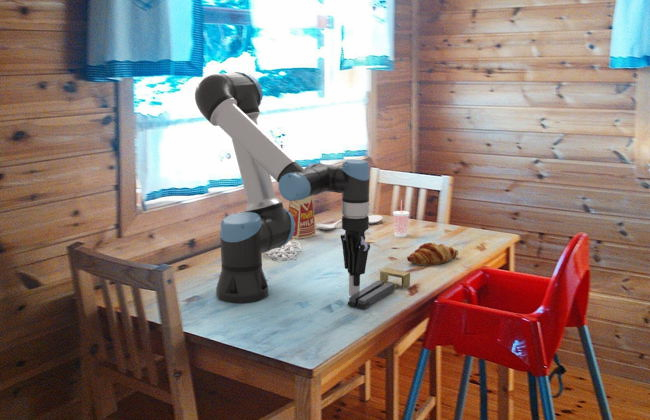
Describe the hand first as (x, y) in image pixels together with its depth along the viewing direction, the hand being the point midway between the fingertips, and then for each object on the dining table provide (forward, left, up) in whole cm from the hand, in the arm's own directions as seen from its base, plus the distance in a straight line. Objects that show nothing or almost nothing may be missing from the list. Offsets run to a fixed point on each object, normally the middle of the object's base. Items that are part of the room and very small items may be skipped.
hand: (354, 295), depth 211 cm
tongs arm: (+4, 0, -1) cm, 4 cm away
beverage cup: (+51, +54, -2) cm, 75 cm away
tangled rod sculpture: (+1, +54, -2) cm, 54 cm away
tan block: (+17, +6, -1) cm, 19 cm away
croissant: (+42, +21, -2) cm, 47 cm away
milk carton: (+17, +71, -2) cm, 73 cm away
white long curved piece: (+40, +76, -2) cm, 86 cm away
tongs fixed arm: (+7, -1, -1) cm, 7 cm away
